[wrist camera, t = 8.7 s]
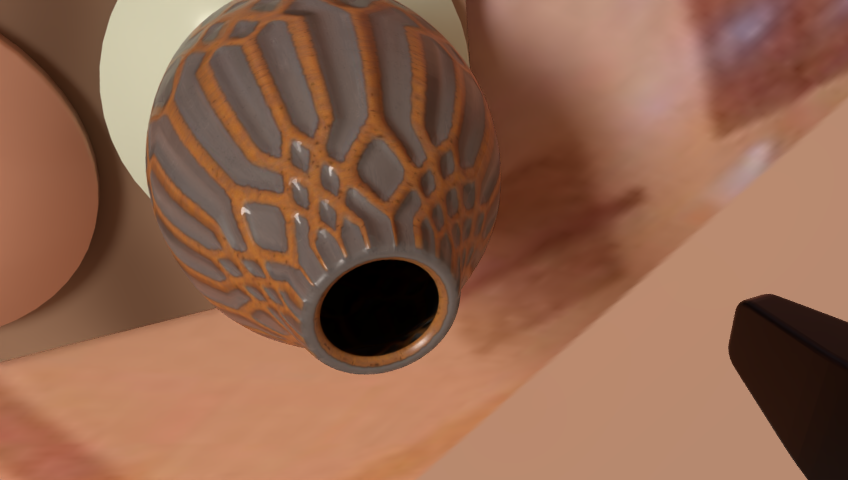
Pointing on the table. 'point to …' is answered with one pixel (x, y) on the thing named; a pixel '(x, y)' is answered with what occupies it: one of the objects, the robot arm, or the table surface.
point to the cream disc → (154, 49)
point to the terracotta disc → (40, 185)
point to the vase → (325, 175)
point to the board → (119, 197)
